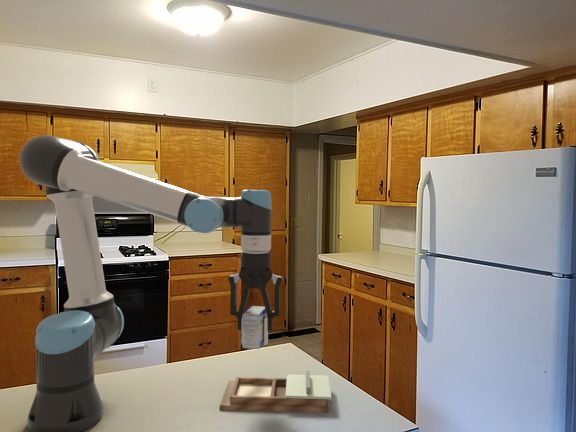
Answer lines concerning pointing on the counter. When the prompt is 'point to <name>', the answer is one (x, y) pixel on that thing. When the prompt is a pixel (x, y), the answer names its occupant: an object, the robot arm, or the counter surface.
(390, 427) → the counter surface
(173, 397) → the counter surface
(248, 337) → the medicine box
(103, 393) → the counter surface
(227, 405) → the brown compartment box
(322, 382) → the lid
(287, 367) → the counter surface
